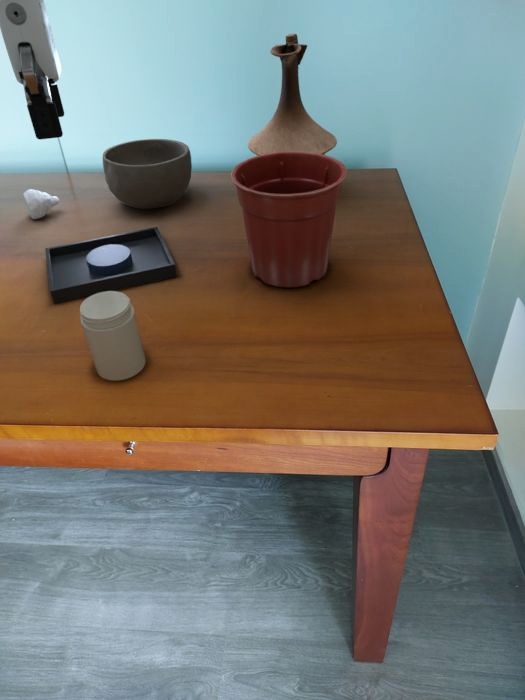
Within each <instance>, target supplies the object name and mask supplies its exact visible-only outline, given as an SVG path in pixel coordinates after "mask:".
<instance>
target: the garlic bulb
mask: <svg viewBox="0 0 525 700" xmlns="http://www.w3.org/2000/svg"><path fill="white" fill-rule="evenodd" d="M22 196H23V199H24V203H25V205H26V208H27V211H28V213H29V216H30V217H31V219H33V220H38V219H41V218H43V217H44V216H46V215H48V213H49V212H50V211H51V210H52V208H54V207H55V206H57V205H59V203H60V199H59V197H58V196H56V195H53V196H52V195H51V194H49V193H48V192H44V191H40V190H38V189H31V188H29V189H27V190H26V191H25V192H24V193H22Z"/></svg>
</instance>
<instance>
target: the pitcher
mask: <svg viewBox="0 0 525 700" xmlns="http://www.w3.org/2000/svg"><path fill="white" fill-rule="evenodd" d="M307 49H308V44H303V43H299V39H298V34H297V33H289V34H287V35H285V44H275V45H274V46H273V47H272V48H271V49H270V54H271V55H272V56H274V57H277V58H279V60H280V62H281V89H280V96H279V100H278V104H277V107H276V110H275V111H274V114H273V116H272V118H271V119H270V120H269V122H268V123H267V124H266V125H265V126H264V127H263V128H262V129H261V130H260V131H259V132H257V133H256V134H255V135H253V136H252V137H251V138H250V139H249V141H248V144H247V147H248V150H249V151H250V152H251V153H252V154H254V155H256V156H259V155H263V154H267V153H274V152H284V151H302V152H312V153H319V154H323V155H326V154H327V153H329V152H330V151H332V150H333V149H335V148H336V146H337V144H338V140H337V138H336V136H335V135H334V134H333V133H331V132H330V131H328V130H327V129H326V128H324V127H323V126H321V125H320V124H319V123H317V122H316V121H315V120H314V119H313V118H312V117H311V116H310V114H309V113H308V111H307V110H306V108H305V106H304V103H303V101H302V97H301V91H300V79H299V78H300V77H299V66H300V65H301V63H302V60H303V59H304V56H305V53H306V51H307Z"/></svg>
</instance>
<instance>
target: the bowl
mask: <svg viewBox="0 0 525 700" xmlns="http://www.w3.org/2000/svg"><path fill="white" fill-rule="evenodd" d="M192 167H193V165H192V154H191V149H190V147H189V145H187V144H186V143H184V142H182V141H179V140H175V139H168V138H146V139H136V140H131V141H126V142H122V143H118V144H116V145H113V146H110V147H108V148H107V149H106V150H104V151H103V153H102V169H103V173H104V178H105V182H106V185H107V187H108V189H109V191H110V193H111V194H113V196H114V197H115V198H116V199H117V200H118V201H119V202H121V203H123V204H124V205H126V206H127V207H129V208H133V209H140V210H149V209H158V208H163V207H168V206H170V205H173V204H174V203H176V202H178V201H179V200H180V199H181V198H182V197H183V196H184V194H185V193H186V191H187V189H188V187H189V186H190V182H191V178H192V171H193V170H192V169H193V168H192Z"/></svg>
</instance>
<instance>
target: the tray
mask: <svg viewBox="0 0 525 700" xmlns="http://www.w3.org/2000/svg"><path fill="white" fill-rule="evenodd" d="M112 244H117V245H123V246H126V247H127V248H129V250H130V252H131V255H132V264H131V265H130V267H129V268H127V269H126V270H124V271H122V272H120V273H117V274H113V275H98V274H94V273H92V272H91V271H90V270H89V268H88V265H87V260H86V257H87V255H88V254H89V253H90V252H91V251H92V250H94V249H96V248H98V247H101V246H105V245H112ZM44 250H45V259H46V269H47V278H48V288H49V289H48V290H49V294H50V296H51V300H52V302H53V304H54V305H55V304H59V303H64V302H69V301H72V300H78V299H82V298H88V297H90V296H92V295H94V294H97V293H100V292H105V291H118V290H122V289H128V288H131V287H136V286H141V285H147V284H150V283H154V282H159V281H163V280H167V279H173V278H176V277H178V274H177V273H178V272H177V266H176V263H175V261H174V259H173V257H172V254H171V253H170V250H169V248H168V246H167V244H166V242H165V240H164V238H163V236H162V234H161V231H160V230H159V227H158V226H152V227H148V228H143V229H138V230H132V231H128V232H127V231H126V232H122V233H117V234H112V235H107V236H102V237H97V238H91V239H87V240H82V241H76V242H71V243H66V244H61V245H56V246H50V247H46V248H44Z"/></svg>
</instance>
